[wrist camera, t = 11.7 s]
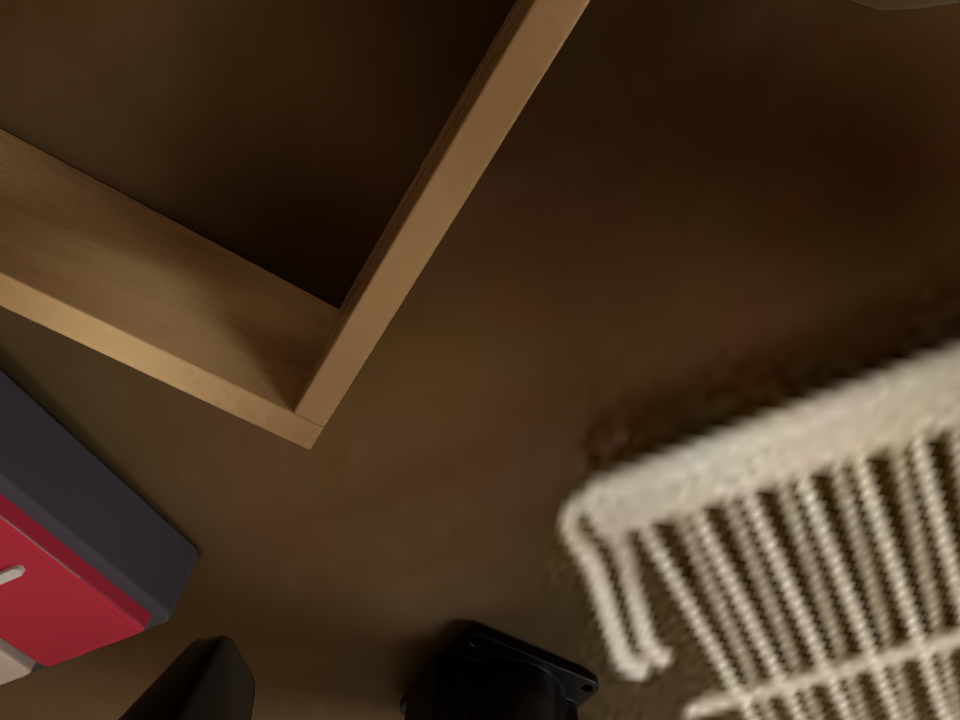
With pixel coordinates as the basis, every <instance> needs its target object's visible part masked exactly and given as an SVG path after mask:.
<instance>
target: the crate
mask: <svg viewBox="0 0 960 720" xmlns="http://www.w3.org/2000/svg"><path fill="white" fill-rule="evenodd" d="M590 1H591V0H516V1H515V3H514V5H513V6H512V8H511V10H510V12H509V13H508V15H507V17H506V18H505V20H504V22H503V24H502V25H501V27H500V29H499V31H498V32H497V34H496V36H495V38H494V39H493V41H492V43H491V45H490V46H489V48H488V50H487V52H486V53H485V55H484V57H483V59H482V60H481V62H480V64H479V66H478V67H477V69H476V71H475V73H474V74H473V76H472V78H471V79H470V81H469V83H468V85H467V86H466V88H465V90H464V92H463V93H462V95H461V97H460V99H459V100H458V102H457V104H456V106H455V107H454V109H453V111H452V113H451V114H450V116H449V118H448V120H447V121H446V123H445V125H444V127H443V128H442V130H441V132H440V134H439V135H438V137H437V139H436V140H435V142H434V144H433V146H432V147H431V149H430V151H429V153H428V154H427V156H426V158H425V160H424V161H423V163H422V165H421V167H420V168H419V170H418V172H417V174H416V175H415V177H414V179H413V181H412V182H411V184H410V186H409V188H408V189H407V191H406V193H405V195H404V196H403V198H402V200H401V202H400V203H399V205H398V207H397V208H396V210H395V212H394V214H393V215H392V217H391V219H390V221H389V222H388V224H387V226H386V228H385V229H384V231H383V233H382V235H381V236H380V238H379V240H378V242H377V243H376V245H375V247H374V249H373V250H372V252H371V254H370V256H369V257H368V259H367V261H366V263H365V264H364V266H363V268H362V269H361V271H360V273H359V275H358V276H357V278H356V280H355V282H354V283H353V285H352V287H351V289H350V290H349V292H348V294H347V296H346V297H345V299H344V301H343V303H342V304H341V306H340V308H339V309H338V308H336V307H334V306H332V305H330V304H328V303H326V302H324V301H323V300H321V299H319V298H317V297H315V296H313V295H311V294H309V293H308V292H306V291H304V290H302V289H300V288H298V287H296V286H294V285H293V284H291V283H289V282H287V281H285V280H283V279H281V278H279V277H278V276H276V275H274V274H272V273H270V272H268V271H266V270H264V269H263V268H261V267H259V266H257V265H255V264H253V263H251V262H249V261H248V260H246V259H244V258H242V257H240V256H238V255H236V254H234V253H233V252H231V251H229V250H227V249H225V248H223V247H221V246H219V245H218V244H216V243H214V242H212V241H210V240H208V239H206V238H204V237H203V236H201V235H199V234H197V233H195V232H193V231H191V230H189V229H188V228H186V227H184V226H182V225H180V224H178V223H176V222H174V221H173V220H171V219H169V218H167V217H165V216H163V215H161V214H159V213H158V212H156V211H154V210H152V209H150V208H148V207H146V206H144V205H143V204H141V203H139V202H137V201H135V200H133V199H131V198H130V197H128V196H126V195H124V194H122V193H120V192H118V191H116V190H115V189H113V188H111V187H109V186H107V185H105V184H103V183H101V182H100V181H98V180H96V179H94V178H92V177H90V176H88V175H86V174H85V173H83V172H81V171H79V170H77V169H75V168H73V167H71V166H70V165H68V164H66V163H64V162H62V161H60V160H58V159H56V158H55V157H53V156H51V155H49V154H47V153H45V152H43V151H41V150H40V149H38V148H36V147H34V146H32V145H30V144H28V143H26V142H25V141H23V140H21V139H19V138H17V137H15V136H13V135H11V134H10V133H8V132H6V131H4V130H2V129H0V306H2V307H4V308H6V309H9V310H11V311H13V312H15V313H17V314H19V315H21V316H23V317H26V318H28V319H30V320H32V321H34V322H36V323H38V324H41V325H43V326H45V327H47V328H49V329H51V330H53V331H56V332H58V333H60V334H62V335H64V336H66V337H68V338H71V339H73V340H75V341H77V342H79V343H81V344H83V345H85V346H88V347H90V348H92V349H94V350H96V351H98V352H100V353H103V354H105V355H107V356H109V357H111V358H113V359H115V360H118V361H120V362H122V363H124V364H126V365H128V366H130V367H133V368H135V369H137V370H139V371H141V372H143V373H145V374H147V375H150V376H152V377H154V378H156V379H158V380H160V381H162V382H165V383H167V384H169V385H171V386H173V387H175V388H177V389H180V390H182V391H184V392H186V393H188V394H190V395H192V396H195V397H197V398H199V399H201V400H203V401H205V402H207V403H209V404H212V405H214V406H216V407H218V408H220V409H222V410H224V411H227V412H229V413H231V414H233V415H235V416H237V417H239V418H242V419H244V420H246V421H248V422H250V423H252V424H254V425H257V426H259V427H261V428H263V429H265V430H267V431H269V432H271V433H274V434H276V435H278V436H280V437H282V438H284V439H286V440H289V441H291V442H293V443H295V444H297V445H299V446H301V447H304V448H306V449H310V448H311V447H312V446H313V444H314V443H315V441H316V439H317V438H318V436H319V435H320V433H321V431H322V430H323V428H324V426H325V425H326V423H327V422H328V420H329V419H330V417H331V415H332V414H333V412H334V411H335V409H336V407H337V406H338V404H339V403H340V401H341V399H342V398H343V396H344V395H345V393H346V391H347V390H348V388H349V387H350V385H351V383H352V382H353V380H354V379H355V377H356V375H357V374H358V372H359V371H360V369H361V367H362V366H363V364H364V363H365V361H366V359H367V358H368V356H369V355H370V353H371V351H372V350H373V348H374V347H375V345H376V343H377V342H378V340H379V339H380V337H381V335H382V334H383V332H384V331H385V329H386V327H387V326H388V324H389V323H390V321H391V319H392V318H393V316H394V314H395V313H396V311H397V310H398V308H399V306H400V305H401V303H402V302H403V300H404V298H405V297H406V295H407V294H408V292H409V290H410V289H411V287H412V286H413V284H414V282H415V281H416V279H417V278H418V276H419V274H420V273H421V271H422V270H423V268H424V266H425V265H426V263H427V262H428V260H429V258H430V257H431V255H432V254H433V252H434V250H435V249H436V247H437V246H438V244H439V242H440V241H441V239H442V238H443V236H444V234H445V233H446V231H447V230H448V228H449V226H450V225H451V223H452V222H453V220H454V218H455V217H456V215H457V214H458V212H459V210H460V209H461V207H462V206H463V204H464V202H465V201H466V199H467V198H468V196H469V194H470V193H471V191H472V190H473V188H474V186H475V185H476V183H477V182H478V180H479V178H480V177H481V175H482V174H483V172H484V170H485V169H486V167H487V166H488V164H489V162H490V161H491V159H492V158H493V156H494V154H495V153H496V151H497V150H498V148H499V146H500V145H501V143H502V142H503V140H504V138H505V137H506V135H507V134H508V132H509V130H510V129H511V127H512V126H513V124H514V122H515V121H516V119H517V118H518V116H519V114H520V113H521V111H522V110H523V108H524V106H525V105H526V103H527V102H528V100H529V98H530V97H531V95H532V93H533V92H534V90H535V89H536V87H537V85H538V84H539V82H540V81H541V79H542V77H543V76H544V74H545V73H546V71H547V69H548V68H549V66H550V65H551V63H552V61H553V60H554V58H555V57H556V55H557V53H558V52H559V50H560V49H561V47H562V45H563V44H564V42H565V41H566V39H567V37H568V36H569V34H570V33H571V31H572V29H573V28H574V26H575V25H576V23H577V21H578V20H579V18H580V17H581V15H582V13H583V12H584V10H585V9H586V7H587V5H588V4H589V2H590Z"/></svg>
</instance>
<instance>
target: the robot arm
mask: <svg viewBox="0 0 960 720" xmlns="http://www.w3.org/2000/svg"><path fill="white" fill-rule="evenodd" d="M598 688H599V686H598V680H597V677H596V675H594V674H593V673H590V672H588V671H586V670H583V669H581V668H578V667H576V666H574V665H571V664H569V663H567V662H564V661H562V660H560V659H557V658H555V657H553V656H550V655H548V654H545V653H543V652H541V651H538V650H536V649H534V648H531V647H529V646H527V645H524V644H522V643H520V642H517V641H515V640H512V639H510V638H508V637H505V636H503V635H501V634H498V633H496V632H494V631H491V630H489V629H487V628H484V627H481V626H473V627H470V628H468V629H467V630H466V631H465V632H464V633H463V634H462V635H461V636H460V637H459V638H458V639H457V640H456V641H455V642H454V643H453V645H452V646H451V647H450V648H449V649H448V650H447V651H446V652H445V653H444V654H443V655H442V656H441V657H440V658H438V659H437V660H435V661H434V662H433V663H432V664H431V665H430V666H429V667H428V668H427V670H426V671H425V672H424V673H423V674H422V675H421V676H420V677H419V678H418V679H417V680H416V681H415V682H414V683H413V684H412V686H411V687H410V688H409V689H408V692H407V693H406V694H405V695H404V696H403V698H402V699H401V702H400V712H401V713H402V714H403V715H405V720H578V714H577V708H578V707H579V706H581V705H582V704H583V703H584V702H585V701H586V700H588V699H589V698H590V697H591V696H592V695H594V694H595V693H596V692H597V691H598ZM254 695H255V683H254V678H253V675H252V672H251V670H250V669H249V667H248V665H247V664H246V662H245V660H244V659H243V657H242V655H241V654H240V652H239V650H238V649H237V647H236V645H235V644H234V642H233V641H232V639H231V638H229V637H227V636H223V635H221V636H214V637H207V638H201V639H198V640H195V641H194V642H192V643H191V644H190V645H189V646H188V647H187V648H186V649H185V650H184V651H183V652H182V653H181V654H180V655H179V656H178V657H177V658H176V659H175V660H174V662H173V663H172V664H171V665H170V666H169V667H168V668H167V669H166V670H165V671H164V672H163V673H162V674H161V675H160V676H159V677H158V678H157V679H156V680H155V681H154V682H153V684H152V685H151V686H150V687H149V688H148V689H147V690H146V691H145V692H144V693H143V694H142V695H141V696H140V697H139V698H138V699H137V700H136V701H135V702H134V703H133V704H132V706H131V707H130V708H129V709H128V710H127V711H126V712H125V713H124V714H123V715H122V716H121V717H120V718H119V719H118V720H251V716H252V709H253V702H254Z"/></svg>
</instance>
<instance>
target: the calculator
mask: <svg viewBox="0 0 960 720" xmlns="http://www.w3.org/2000/svg"><path fill="white" fill-rule="evenodd" d="M197 556H198V552H197V550H196V548H195V547H194V546H193V545H192V544H191V543H190V542H188V541H187V540H186V539H185V538H184V537H183V536H182V535H181V534H180V533H179V532H177V531H176V530H175V529H174V528H173V527H172V526H171V525H170V524H169V523H168V522H167V521H165V520H164V519H163V518H162V517H161V516H160V515H159V514H158V513H157V512H156V511H154V510H153V509H152V508H151V507H150V506H149V505H148V504H147V503H146V502H145V501H144V500H142V499H141V498H140V497H139V496H138V495H137V494H136V493H135V492H134V491H133V490H131V489H130V488H129V487H128V486H127V485H126V484H125V483H124V482H123V481H122V480H121V479H119V478H118V477H117V476H116V475H115V474H114V473H113V472H112V471H111V470H110V469H108V468H107V467H106V466H105V465H104V464H103V463H102V462H101V461H100V460H99V459H98V458H96V457H95V456H94V455H93V454H92V453H91V452H90V451H89V450H88V449H87V448H85V447H84V446H83V445H82V444H81V443H80V442H79V441H78V440H77V439H76V438H75V437H73V436H72V435H71V434H70V433H69V432H68V431H67V430H66V429H65V428H64V427H62V426H61V425H60V424H59V423H58V422H57V421H56V420H55V419H54V418H53V417H52V416H50V415H49V414H48V413H47V412H46V411H45V410H44V409H43V408H42V407H41V406H39V405H38V404H37V403H36V402H35V401H34V400H33V399H32V398H31V397H30V396H29V395H27V394H26V393H25V392H24V391H23V390H22V389H21V388H20V387H19V386H18V385H16V384H15V383H14V382H13V381H12V380H11V379H10V378H9V377H8V376H7V375H6V374H4V373H3V372H2V371H1V370H0V685H1V684H4V683H7V682H10V681H12V680H15V679H18V678H20V677H23V676H26V675H27V674H29V673H30V672H33V671H36V670H39V669H41V668H44V667H47V666H52V665H55V664H58V663H61V662H63V661H66V660H69V659H71V658H74V657H77V656H80V655H82V654H85V653H88V652H90V651H93V650H96V649H98V648H101V647H104V646H106V645H109V644H112V643H115V642H117V641H120V640H123V639H125V638H128V637H131V636H133V635H136V634H139V633H141V632H142V631H144V630H146V629H149V628H151V627H154V626H157V625H159V624H162V623H164V622H166V621H168V620H169V619H170V618H171V616H172V614H173V612H174V609H175V607H176V605H177V603H178V600H179V598H180V596H181V593H182V591H183V589H184V586H185V584H186V582H187V580H188V577H189V575H190V573H191V570H192V568H193V566H194V563H195V561H196V559H197Z"/></svg>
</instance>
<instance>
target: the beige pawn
mask: <svg viewBox="0 0 960 720" xmlns="http://www.w3.org/2000/svg"><path fill="white" fill-rule="evenodd" d="M849 1H852V2H855V3H858V4H861V5H864V6H867V7H870V8H873V9H876V10H879V11H881V10H902V9H921V8H927V7H934V6H940V5H947V4H953V3H960V0H849Z"/></svg>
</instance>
